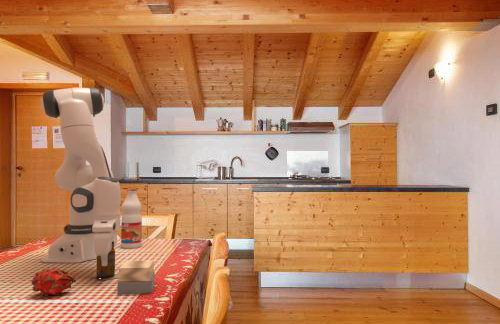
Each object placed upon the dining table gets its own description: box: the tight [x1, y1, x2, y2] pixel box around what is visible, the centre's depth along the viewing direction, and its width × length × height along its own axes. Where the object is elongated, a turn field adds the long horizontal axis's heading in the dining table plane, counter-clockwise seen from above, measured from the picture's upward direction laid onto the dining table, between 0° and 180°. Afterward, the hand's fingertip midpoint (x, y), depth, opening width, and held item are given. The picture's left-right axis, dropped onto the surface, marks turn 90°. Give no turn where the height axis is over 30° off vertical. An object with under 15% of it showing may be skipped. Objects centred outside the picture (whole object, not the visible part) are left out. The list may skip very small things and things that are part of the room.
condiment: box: [91, 241, 119, 281], centre depth 130 cm, size 7×8×12 cm
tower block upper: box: [117, 259, 155, 283], centre depth 117 cm, size 9×9×4 cm
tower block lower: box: [117, 271, 156, 296], centre depth 117 cm, size 10×10×4 cm
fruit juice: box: [120, 187, 143, 249], centre depth 179 cm, size 9×9×28 cm
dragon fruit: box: [31, 267, 77, 298], centre depth 111 cm, size 8×8×12 cm
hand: (107, 262), depth 130 cm, fingers closed on condiment, 6 cm apart
